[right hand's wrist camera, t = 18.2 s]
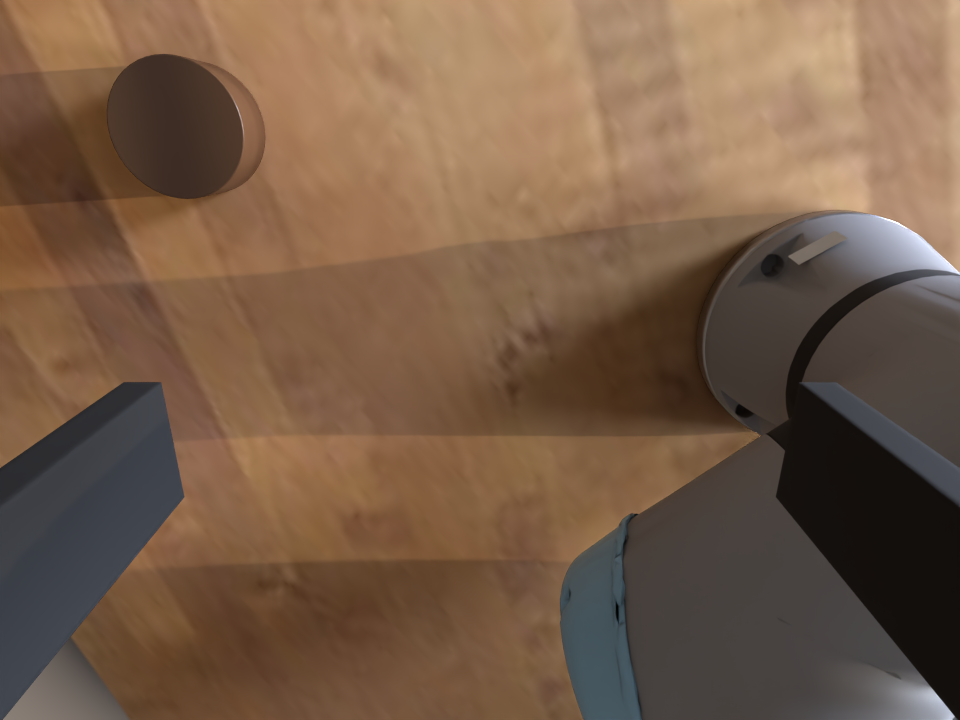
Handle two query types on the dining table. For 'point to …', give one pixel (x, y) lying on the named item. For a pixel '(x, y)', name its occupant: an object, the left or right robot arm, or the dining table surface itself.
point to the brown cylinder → (185, 126)
